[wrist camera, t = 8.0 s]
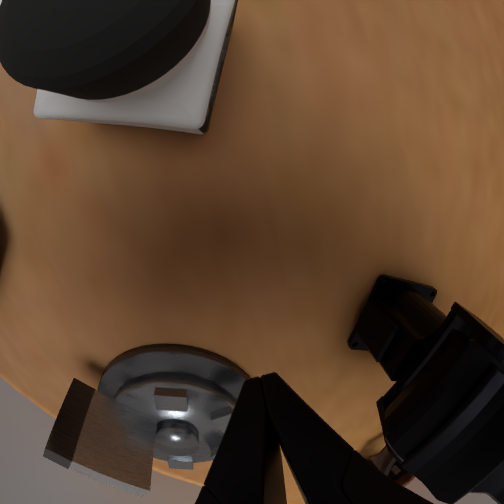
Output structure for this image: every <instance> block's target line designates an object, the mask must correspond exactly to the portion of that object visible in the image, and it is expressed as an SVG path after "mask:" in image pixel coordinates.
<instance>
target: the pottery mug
mask: <svg viewBox="0 0 504 504" xmlns="http://www.w3.org/2000/svg"><path fill="white" fill-rule="evenodd" d="M369 459H371V460H372V461H373V463H372V465H373V466H374V467H376V468H377V469H378V470H379V471H381V472H382V473H384V474H385V475H386V476H388V477H389V478H391V479H392V480H394V481H395V482H397V483H399V484H400V485H402V486H404V487H405V486H406V485H407V484H409V483H410V482H411V481H412V480H413V479H414V478H415V476H414V475H413V474H412V473H410V472H408V471H406V470H405V469H403V468H402V467H401V466H400V463H399V462H398V461H397V460H396V459H395V458H394V457H393V456H392V455H391V454H390V453H389V452H388V450H387V446H385V447H384V448H383V449H382V451H381V452H380V453H378V454H377V455H374V456H371V457H369Z"/></svg>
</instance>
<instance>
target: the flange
mask: <svg viewBox="0 0 504 504" xmlns="http://www.w3.org/2000/svg"><path fill="white" fill-rule="evenodd" d="M151 373H180V374H186V375H192V376H196V377H199V378H203V379H205V380H208V381H211V382H213V383H215V384H217V385H219V386H221V387H222V388H224V389H226V390H227V391H228V392H229V393H231V394H232V395H233V396H234V397H235V398H236V399H238V396H239V393H240V391H241V388H242V385H243V383H244V381H245V380H246V379H250V377H249V376H248V375H247V374H246V373H245V372H244V371H243V370H242V369H241V368H240V367H238V366H237V365H236V364H234V363H233V362H231V361H229V360H228V359H226V358H224V357H222V356H220V355H217V354H215V353H212V352H209V351H207V350H204V349H200V348H195V347H191V346H185V345H176V344H154V345H147V346H142V347H138V348H134V349H131V350H129V351H127V352H124V353H122V354H121V355H119V356H117V357H116V358H115V359H114V360H112V361H111V362H110V363H109V365H108V366H107V367H106V369H105V371H104V373H103V375H102V377H101V380H100V383H99V386H98V391H99V392H101V393H103V394H105V395H106V396H109V397H111V398H113V399H114V396H115V394H116V392H117V390H118V389H119V388H120V387H121V386H122V385H123V384H124V383H126V382H127V381H129V380H131V379H133V378H135V377H138V376H141V375H145V374H151Z"/></svg>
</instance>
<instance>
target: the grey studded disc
mask: <svg viewBox="0 0 504 504" xmlns="http://www.w3.org/2000/svg"><path fill="white" fill-rule="evenodd" d="M236 401H237V399H236V398H235V397H234V396H233V395H232V394H231V393H229V392H228V391H227V390H226V389H224V388H222V387H221V386H219V385H217V384H215V383H213V382H211V381H208V380H205V379H203V378H199V377H196V376H192V375H186V374H180V373H151V374H145V375H141V376H138V377H135V378H133V379H131V380H129V381H127V382H126V383H124V384H123V385H122V386H121V387H120V388H119V389H118V390H117V392H116V394H115V396H114V399H113V398H111V397H109V396H106V395H105V394H103V393H101V392H99V391H97V390H95V389H94V388H92V387H90V386H88V385H86V384H85V383H83V382H81V381H79V380H77V379H76V378H74V379H73V381H72V383H71V386H70V388H69V390H68V392H67V395H66V397H65V399H64V402H63V404H62V406H61V409H60V411H59V413H58V416H57V418H56V421H55V423H54V426H53V429H52V431H51V434H50V436H49V439H48V442H47V445H46V447H45V451H44V455H43V456H44V457H46V458H48V459H49V460H51V461H53V462H56V463H57V464H59V465H61V466H63V467H65V468H67V469H71V470H73V471H75V472H78V473H80V474H82V475H84V476H87V477H89V478H91V479H94V480H96V481H99V482H101V483H104V484H106V485H109V486H112V487H114V488H117V489H120V490H123V491H126V492H129V493H132V494H135V495H138V496H141V497H142V496H144V495H145V494H146V493H148V492H149V491H150V486H151V474H152V464H153V457H154V458H157V459H161V460H165V461H168V465H169V468H175V469H193V463H196V462H205V461H210V460H213V459H214V457H215V455H216V452H217V450H218V447H219V445H220V442H221V440H222V437H223V435H224V432H225V430H226V427H227V425H228V422H229V420H230V417H231V414H232V412H233V409H234V407H235V404H236Z"/></svg>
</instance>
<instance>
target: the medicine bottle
mask: <svg viewBox="0 0 504 504" xmlns="http://www.w3.org/2000/svg"><path fill="white" fill-rule="evenodd" d="M237 2H238V0H2V3H1V5H0V62H1V64H2V66H3V68H4V69H5V70H6V72H7V73H8V74H9V75H10V76H11V77H12V78H13V79H14V80H16V81H17V82H19V83H21V84H23V85H25V86H29V87H32V88H36V89H38V90H37V95H36V100H35V105H34V114H35V116H36V117H38V118H40V119H55V120H68V121H79V122H89V123H100V124H114V125H127V126H137V127H147V128H156V129H164V130H172V131H180V132H187V133H194V134H200V135H202V134H205V133H207V132H208V130H209V125H210V120H211V116H212V111H213V106H214V102H215V97H216V93H217V89H218V84H219V80H220V76H221V72H222V67H223V63H224V59H225V55H226V51H227V48H228V44H229V40H230V36H231V32H232V28H233V23H234V18H235V12H236V7H237Z"/></svg>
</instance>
